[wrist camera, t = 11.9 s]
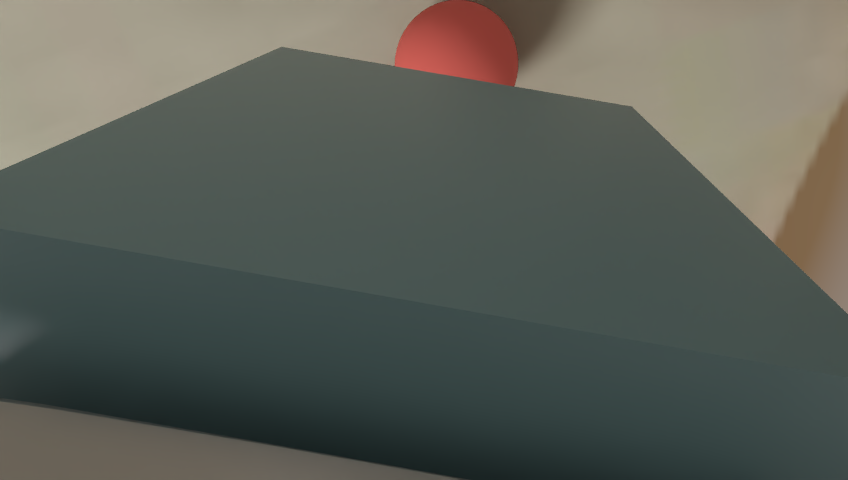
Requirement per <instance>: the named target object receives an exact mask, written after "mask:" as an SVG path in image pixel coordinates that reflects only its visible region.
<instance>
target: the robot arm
mask: <svg viewBox="0 0 848 480" xmlns="http://www.w3.org/2000/svg"><path fill="white" fill-rule="evenodd" d="M0 480H469V479H463V478H458V477H452V476H447V475H441V474H436V473H430V472H425V471H419V470H414V469H408V468H403V467H397V466H391V465H386V464H380V463H375V462H369V461H364V460H358V459H352V458H347V457H341V456H336V455H330V454H324V453H319V452H313V451H308V450H302V449H296V448H291V447H285V446H280V445H274V444H268V443H263V442H257V441H251V440H246V439H240V438H234V437H228V436H223V435H217V434H211V433H206V432H200V431H194V430H188V429H183V428H177V427H171V426H165V425H160V424H154V423H148V422H143V421H137V420H131V419H125V418H120V417H114V416H108V415H102V414H97V413H91V412H85V411H79V410H74V409H68V408H62V407H56V406H51V405H45V404H39V403H32V402H25V401H18V400H11V399H4V398H0Z"/></svg>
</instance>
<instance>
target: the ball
mask: <svg viewBox="0 0 848 480" xmlns="http://www.w3.org/2000/svg"><path fill="white" fill-rule="evenodd" d="M395 66H396V67H402V68H408V69H414V70H420V71H426V72H431V73H437V74H443V75H449V76H455V77H461V78H467V79H472V80H478V81H484V82H490V83H496V84H502V85H508V86H513V87H514V85H515V82H516V78H517V72H518V54H517V49H516V44H515V41H514V39H513V36H512V34H511V32H510V31H509V29H508V27H507V26H506V24H505V23H504V22H503V21H502V20H501V18H500V17H499V16H498V15H496V14H495V13H494V12H493V11H491V10H490V9H488V8H486V7H485V6H483V5H480V4H478V3H475V2H471V1H466V0H449V1H444V2H440V3H437V4H435V5H433V6H430V7H428V8H427V9H425V10H424V11H422V12H421V13H420V14H418V15H417V16H416V17H415V18H414V19H413V20H412V21H411V22H410V24H409V25H408V26H407V28H406V29H405V31H404V32H403V34H402V36H401V38H400V41H399V44H398V47H397V51H396V56H395Z"/></svg>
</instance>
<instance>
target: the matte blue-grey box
mask: <svg viewBox="0 0 848 480" xmlns="http://www.w3.org/2000/svg"><path fill="white" fill-rule="evenodd" d="M0 398H4V399H11V400H18V401H25V402H32V403H39V404H45V405H51V406H56V407H62V408H68V409H74V410H79V411H85V412H91V413H97V414H102V415H108V416H114V417H120V418H125V419H131V420H137V421H143V422H148V423H154V424H160V425H165V426H171V427H177V428H183V429H188V430H194V431H200V432H206V433H211V434H217V435H223V436H228V437H234V438H240V439H246V440H251V441H257V442H263V443H268V444H274V445H280V446H285V447H291V448H296V449H302V450H308V451H313V452H319V453H324V454H330V455H336V456H341V457H347V458H352V459H358V460H364V461H369V462H375V463H380V464H386V465H391V466H397V467H403V468H408V469H414V470H419V471H425V472H430V473H436V474H441V475H447V476H452V477H458V478H463V479H469V480H848V314H847V313H846V312H845V311H844V310H843V309H842V308H841V307H840V306H839V305H838V304H837V303H836V302H835V301H833V300H832V299H831V298H830V297H829V296H828V295H827V294H826V293H825V292H824V291H823V290H822V289H821V288H820V287H819V286H818V285H817V284H816V283H815V282H814V281H813V280H812V279H810V277H809V276H807V275H806V274H805V273H804V272H803V271H802V270H801V269H800V268H799V267H798V266H797V265H796V264H795V263H794V262H793V261H792V260H791V259H790V258H789V257H788V256H787V255H786V254H785V253H784V252H782V251H781V250H780V249H779V248H778V247H777V246H776V245H775V244H774V243H773V242H772V241H771V240H770V239H769V238H768V237H767V236H766V235H765V234H764V233H763V232H762V231H761V230H760V229H759V228H758V227H756V226H755V225H754V224H753V223H752V222H751V221H750V220H749V219H748V218H747V217H746V216H745V215H744V214H743V213H742V212H741V211H740V210H739V209H738V208H737V207H736V206H735V205H734V204H733V203H731V202H730V201H729V200H728V199H727V198H726V197H725V196H724V195H723V194H722V193H721V192H720V191H719V190H718V189H717V188H716V187H715V186H714V185H713V184H712V183H711V182H710V181H709V180H708V179H707V178H705V177H704V176H703V175H702V174H701V173H700V172H699V171H698V170H697V169H696V168H695V167H694V166H693V165H692V164H691V163H690V162H689V161H688V160H687V159H686V158H685V157H684V156H683V155H682V154H680V153H679V152H678V151H677V150H676V149H675V148H674V147H673V146H672V145H671V144H670V143H669V142H668V141H667V140H666V139H665V138H664V137H663V136H662V135H661V134H660V133H659V132H658V131H657V130H655V129H654V128H653V127H652V126H651V125H650V124H649V123H648V122H647V121H646V120H645V119H644V118H643V117H642V116H641V115H640V114H639V113H638V112H637V111H636V110H635V109H634V108H633V107H631V106H625V105H619V104H613V103H607V102H601V101H595V100H590V99H584V98H578V97H572V96H566V95H560V94H554V93H549V92H543V91H537V90H531V89H525V88H519V87H513V86H508V85H502V84H496V83H490V82H484V81H478V80H472V79H467V78H461V77H455V76H449V75H443V74H437V73H431V72H426V71H420V70H414V69H408V68H402V67H396V66H390V65H385V64H379V63H373V62H367V61H361V60H355V59H349V58H344V57H338V56H332V55H326V54H320V53H314V52H309V51H303V50H297V49H291V48H285V47H280V48H278V49H276V50H273V51H271V52H269V53H267V54H264V55H262V56H260V57H257V58H255V59H253V60H251V61H248V62H246V63H244V64H242V65H239V66H237V67H235V68H232V69H230V70H228V71H226V72H223V73H221V74H219V75H217V76H214V77H212V78H210V79H207V80H205V81H203V82H201V83H198V84H196V85H194V86H191V87H189V88H187V89H185V90H182V91H180V92H178V93H176V94H173V95H171V96H169V97H166V98H164V99H162V100H160V101H157V102H155V103H153V104H151V105H148V106H146V107H144V108H141V109H139V110H137V111H135V112H132V113H130V114H128V115H125V116H123V117H121V118H119V119H116V120H114V121H112V122H110V123H107V124H105V125H103V126H100V127H98V128H96V129H94V130H91V131H89V132H87V133H85V134H82V135H80V136H78V137H75V138H73V139H71V140H69V141H66V142H64V143H62V144H59V145H57V146H55V147H53V148H50V149H48V150H46V151H44V152H41V153H39V154H37V155H34V156H32V157H30V158H28V159H25V160H23V161H21V162H19V163H16V164H14V165H12V166H9V167H7V168H5V169H3V170H0Z"/></svg>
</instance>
